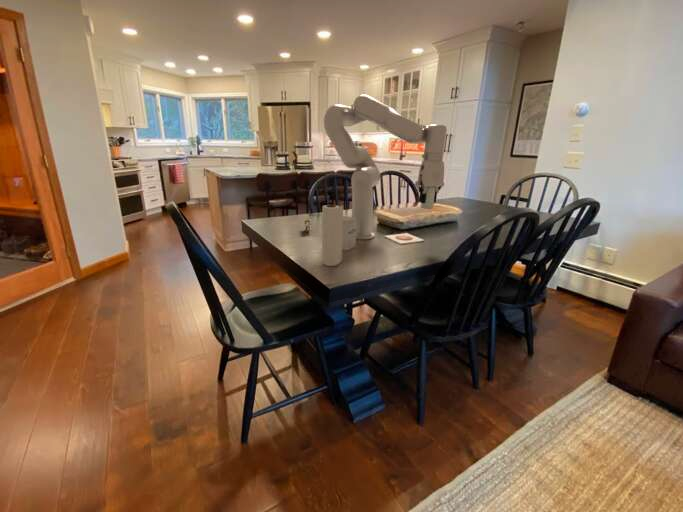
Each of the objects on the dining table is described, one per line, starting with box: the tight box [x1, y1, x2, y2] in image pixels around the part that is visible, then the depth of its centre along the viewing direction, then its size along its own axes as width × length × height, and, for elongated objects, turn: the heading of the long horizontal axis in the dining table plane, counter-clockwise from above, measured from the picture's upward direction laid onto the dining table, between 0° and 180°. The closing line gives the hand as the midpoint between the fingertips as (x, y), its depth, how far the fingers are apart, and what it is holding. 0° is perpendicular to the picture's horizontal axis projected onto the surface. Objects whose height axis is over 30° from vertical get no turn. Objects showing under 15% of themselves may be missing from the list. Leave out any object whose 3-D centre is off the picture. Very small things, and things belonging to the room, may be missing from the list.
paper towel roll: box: [321, 204, 344, 267], centre depth 118 cm, size 7×6×21 cm
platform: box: [302, 217, 313, 234], centre depth 162 cm, size 12×18×7 cm, turn 8°
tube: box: [420, 186, 436, 210], centre depth 138 cm, size 5×5×10 cm
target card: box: [384, 232, 425, 246], centre depth 153 cm, size 13×13×1 cm
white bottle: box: [342, 215, 357, 251], centre depth 138 cm, size 7×7×13 cm
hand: (427, 202), depth 139 cm, fingers closed on tube, 5 cm apart
